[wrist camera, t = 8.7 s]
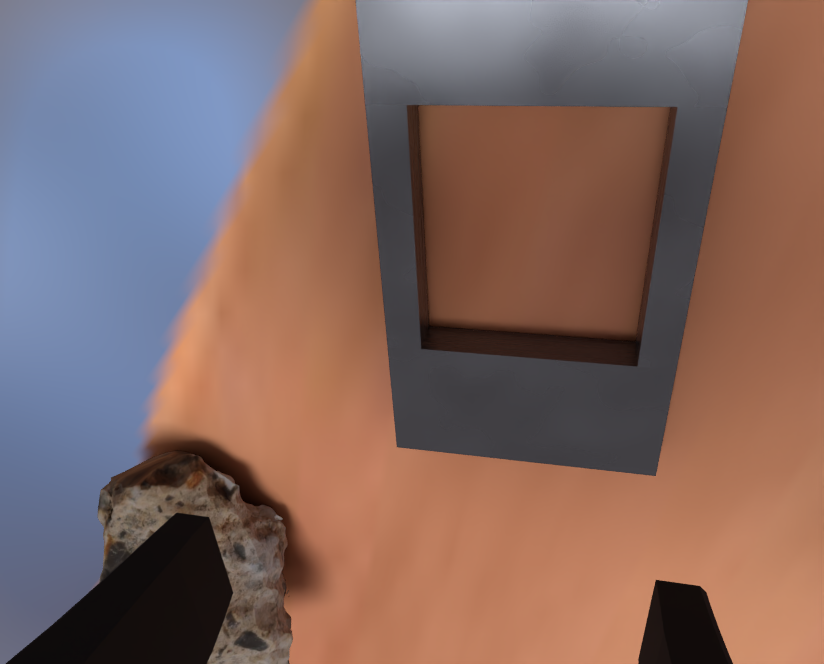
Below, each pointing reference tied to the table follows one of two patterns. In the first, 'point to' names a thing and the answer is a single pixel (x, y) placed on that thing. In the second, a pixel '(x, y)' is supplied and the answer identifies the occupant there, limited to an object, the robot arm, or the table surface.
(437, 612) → the table surface
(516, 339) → the rail plate
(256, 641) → the rock
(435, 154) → the table surface
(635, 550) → the table surface
